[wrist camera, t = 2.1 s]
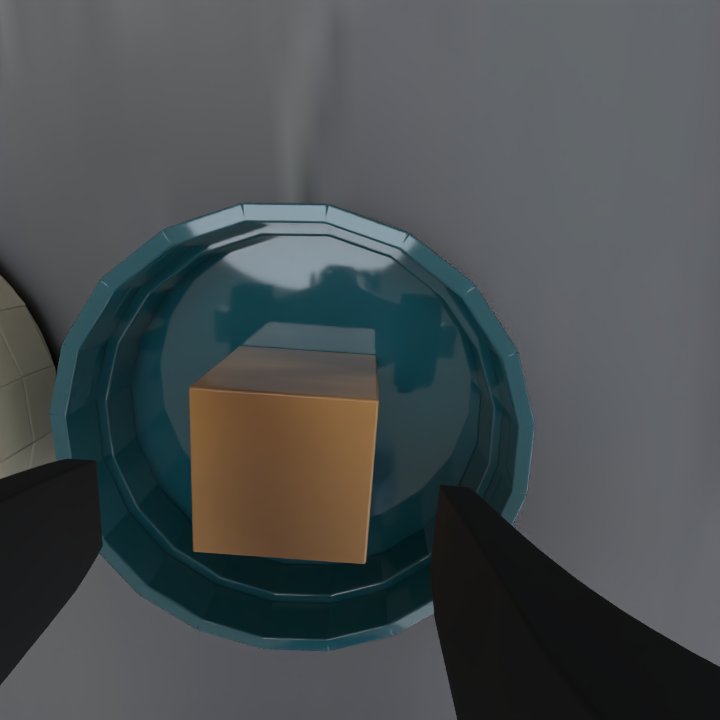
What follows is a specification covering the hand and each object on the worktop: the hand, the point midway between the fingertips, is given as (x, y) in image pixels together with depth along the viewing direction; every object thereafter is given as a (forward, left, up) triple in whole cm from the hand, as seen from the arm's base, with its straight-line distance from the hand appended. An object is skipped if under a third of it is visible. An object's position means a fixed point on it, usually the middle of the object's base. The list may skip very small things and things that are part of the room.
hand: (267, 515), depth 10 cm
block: (0, 0, -6) cm, 6 cm away
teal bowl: (0, 0, -6) cm, 7 cm away
